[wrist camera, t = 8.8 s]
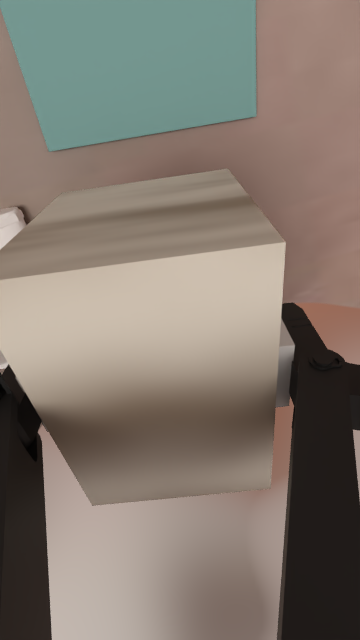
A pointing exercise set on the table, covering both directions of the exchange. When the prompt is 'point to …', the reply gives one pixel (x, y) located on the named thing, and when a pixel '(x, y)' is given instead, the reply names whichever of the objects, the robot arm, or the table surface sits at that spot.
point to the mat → (133, 65)
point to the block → (150, 334)
